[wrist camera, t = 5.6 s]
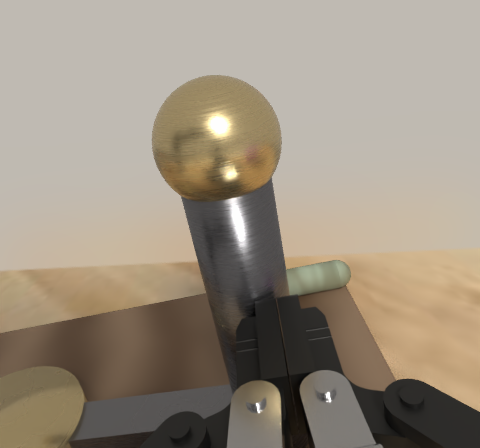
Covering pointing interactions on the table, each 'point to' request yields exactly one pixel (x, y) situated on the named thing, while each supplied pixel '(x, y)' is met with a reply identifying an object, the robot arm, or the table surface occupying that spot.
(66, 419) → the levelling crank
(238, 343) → the robot arm
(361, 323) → the walnut base
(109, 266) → the table surface
